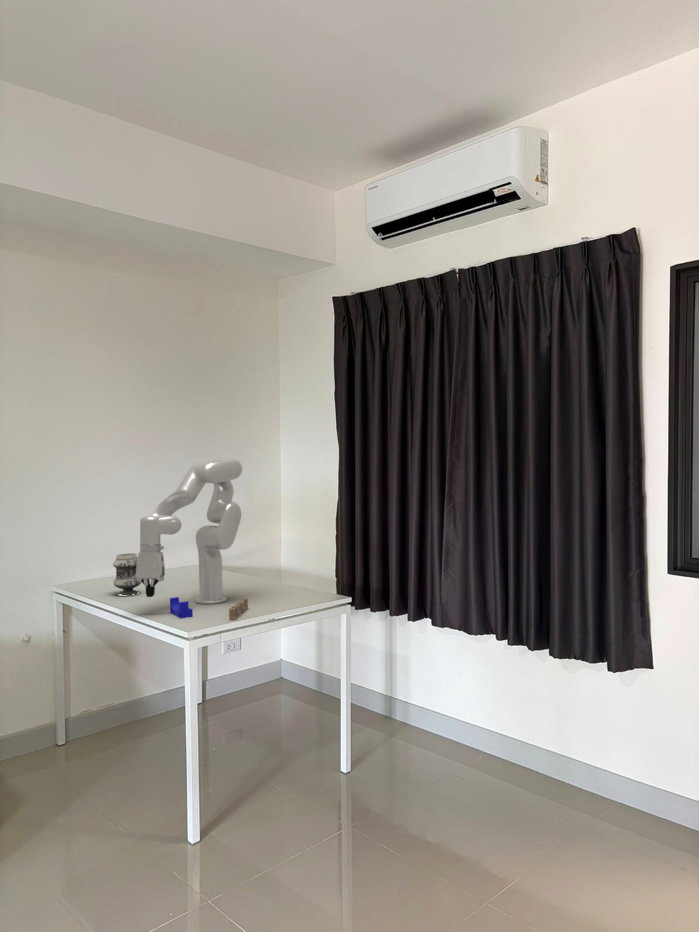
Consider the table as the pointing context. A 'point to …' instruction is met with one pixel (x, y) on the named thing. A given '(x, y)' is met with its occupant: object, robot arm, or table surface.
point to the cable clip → (180, 608)
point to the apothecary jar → (126, 573)
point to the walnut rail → (238, 608)
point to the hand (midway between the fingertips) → (150, 596)
